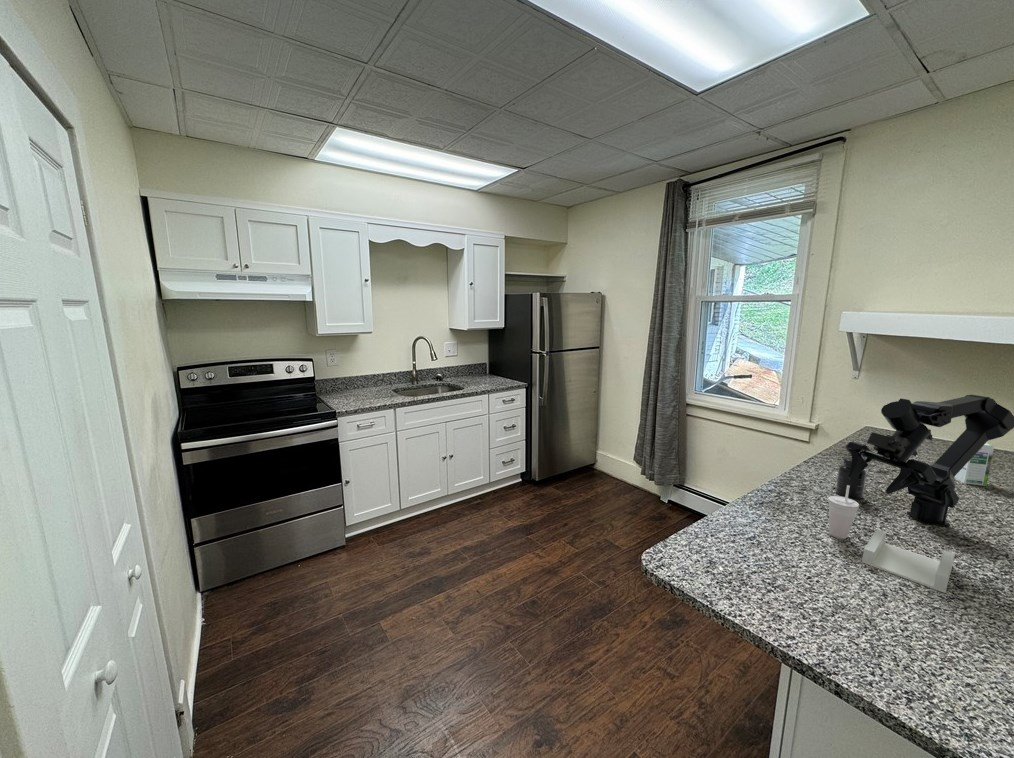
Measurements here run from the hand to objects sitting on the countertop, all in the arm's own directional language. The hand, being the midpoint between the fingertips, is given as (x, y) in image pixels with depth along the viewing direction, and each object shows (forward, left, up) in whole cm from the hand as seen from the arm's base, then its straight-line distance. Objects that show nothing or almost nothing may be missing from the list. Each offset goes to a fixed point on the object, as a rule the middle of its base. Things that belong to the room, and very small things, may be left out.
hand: (867, 485), depth 108 cm
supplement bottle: (-11, -24, -13) cm, 29 cm away
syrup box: (-59, -43, -13) cm, 74 cm away
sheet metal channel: (-1, +15, -13) cm, 20 cm away
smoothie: (+7, +4, -13) cm, 16 cm away
